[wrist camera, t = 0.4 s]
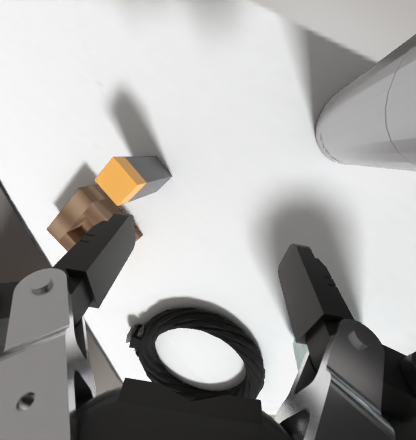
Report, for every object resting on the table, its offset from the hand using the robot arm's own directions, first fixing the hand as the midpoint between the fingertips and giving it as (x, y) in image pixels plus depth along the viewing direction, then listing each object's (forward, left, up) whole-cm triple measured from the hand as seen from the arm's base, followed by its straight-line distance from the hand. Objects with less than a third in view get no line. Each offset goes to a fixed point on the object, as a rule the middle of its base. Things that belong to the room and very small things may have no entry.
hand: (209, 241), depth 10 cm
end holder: (+25, -10, -21) cm, 34 cm away
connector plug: (+9, -10, -21) cm, 25 cm away
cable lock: (+30, +23, -21) cm, 44 cm away
